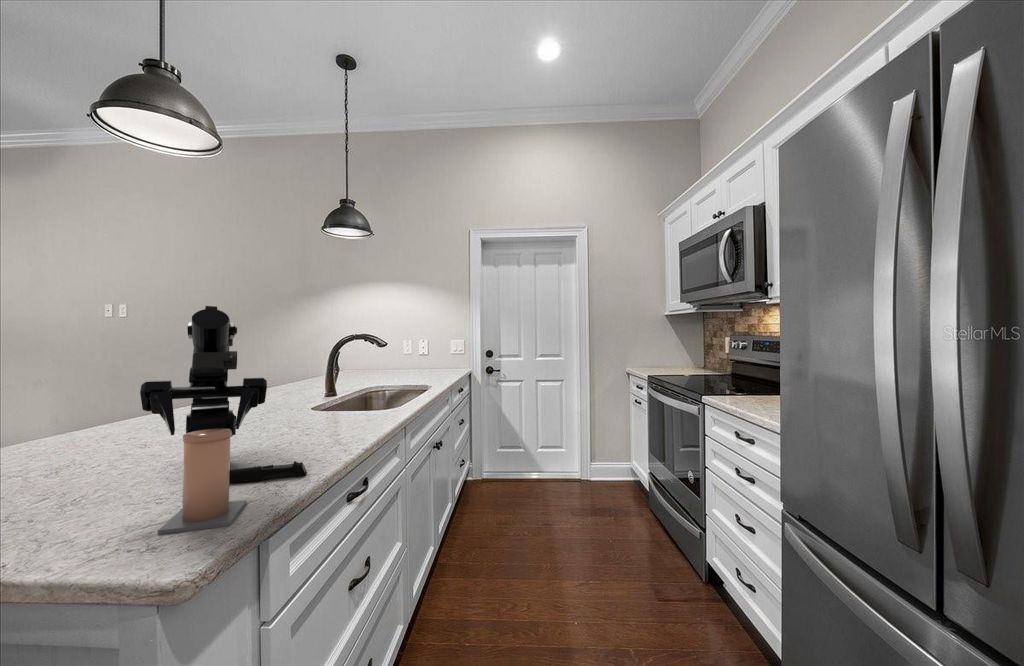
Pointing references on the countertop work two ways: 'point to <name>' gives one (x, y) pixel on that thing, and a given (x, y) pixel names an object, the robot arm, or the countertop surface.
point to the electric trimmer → (267, 472)
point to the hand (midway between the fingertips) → (206, 430)
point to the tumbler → (206, 474)
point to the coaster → (224, 520)
